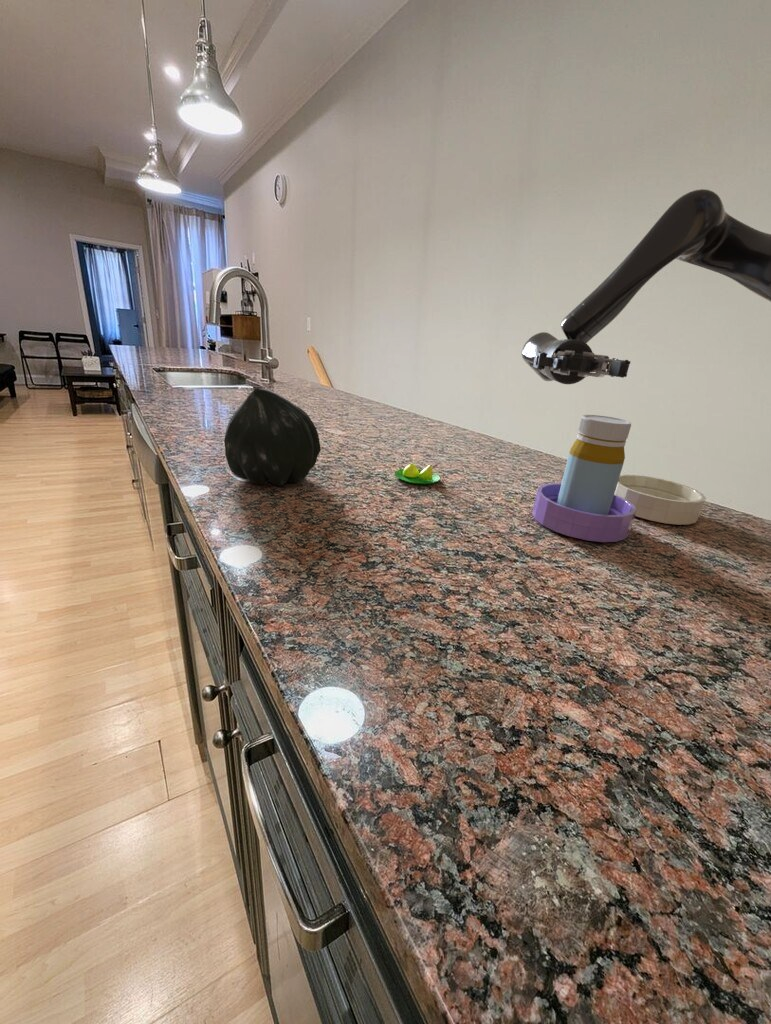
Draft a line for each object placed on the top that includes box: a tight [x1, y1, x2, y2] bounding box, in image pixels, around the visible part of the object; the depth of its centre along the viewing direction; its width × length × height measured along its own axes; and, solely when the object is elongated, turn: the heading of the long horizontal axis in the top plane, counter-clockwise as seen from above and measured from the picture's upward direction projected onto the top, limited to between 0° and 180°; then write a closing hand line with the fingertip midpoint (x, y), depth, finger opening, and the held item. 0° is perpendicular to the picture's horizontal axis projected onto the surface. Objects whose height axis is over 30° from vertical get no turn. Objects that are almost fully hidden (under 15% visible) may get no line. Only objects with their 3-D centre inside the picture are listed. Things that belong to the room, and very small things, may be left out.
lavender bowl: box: [531, 482, 636, 543], centre depth 65 cm, size 13×13×4 cm
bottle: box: [557, 414, 632, 515], centre depth 63 cm, size 7×7×15 cm
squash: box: [223, 387, 322, 486], centre depth 70 cm, size 14×15×15 cm
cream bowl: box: [614, 474, 707, 526], centre depth 73 cm, size 13×13×4 cm
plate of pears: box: [393, 462, 441, 486], centre depth 78 cm, size 8×8×3 cm
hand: (592, 366), depth 68 cm, fingers open, 8 cm apart
